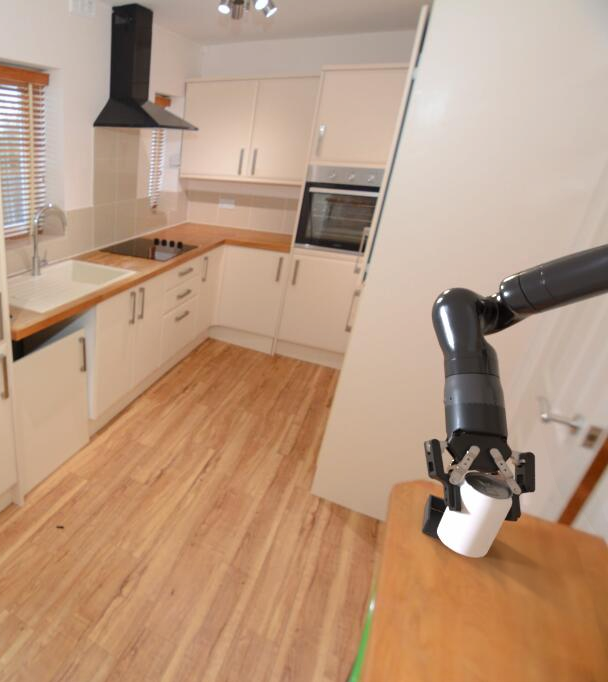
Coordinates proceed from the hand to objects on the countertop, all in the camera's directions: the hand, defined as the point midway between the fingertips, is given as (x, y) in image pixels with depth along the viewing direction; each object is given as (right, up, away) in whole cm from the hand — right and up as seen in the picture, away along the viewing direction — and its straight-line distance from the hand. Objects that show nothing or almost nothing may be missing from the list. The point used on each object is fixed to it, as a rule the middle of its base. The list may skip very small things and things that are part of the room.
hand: (482, 515), depth 68 cm
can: (0, -6, +5) cm, 8 cm away
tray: (+13, -11, +24) cm, 29 cm away
